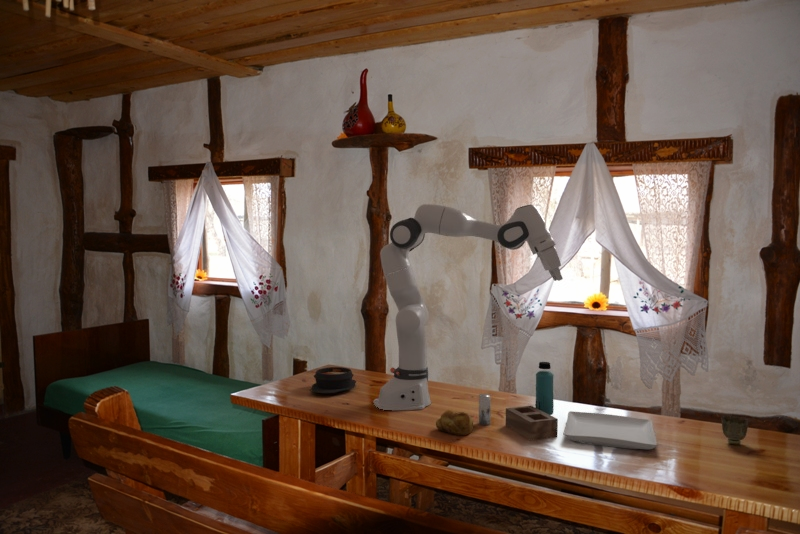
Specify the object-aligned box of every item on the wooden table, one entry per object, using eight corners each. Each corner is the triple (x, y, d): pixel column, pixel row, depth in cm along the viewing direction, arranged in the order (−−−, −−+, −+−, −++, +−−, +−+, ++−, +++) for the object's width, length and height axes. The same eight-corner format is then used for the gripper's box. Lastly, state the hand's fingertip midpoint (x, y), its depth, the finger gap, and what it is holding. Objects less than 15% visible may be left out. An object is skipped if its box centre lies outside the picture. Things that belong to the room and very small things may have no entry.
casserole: (329, 381, 260) (329, 363, 260) (366, 385, 253) (366, 366, 253) (299, 395, 237) (299, 374, 237) (339, 399, 230) (339, 379, 230)
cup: (747, 449, 174) (748, 423, 174) (720, 445, 178) (720, 419, 178) (748, 442, 181) (748, 417, 180) (721, 438, 185) (721, 413, 184)
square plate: (658, 456, 170) (658, 443, 170) (562, 445, 179) (562, 433, 179) (651, 428, 195) (652, 417, 195) (568, 420, 205) (568, 409, 204)
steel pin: (482, 426, 197) (482, 397, 196) (476, 422, 201) (477, 394, 200) (492, 424, 198) (492, 396, 198) (487, 421, 202) (487, 393, 201)
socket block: (530, 440, 182) (530, 422, 182) (505, 425, 197) (505, 408, 197) (557, 437, 186) (557, 418, 185) (530, 422, 201) (531, 405, 200)
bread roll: (430, 432, 191) (430, 408, 190) (444, 424, 199) (445, 401, 199) (465, 439, 184) (465, 414, 183) (478, 431, 192) (478, 407, 192)
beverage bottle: (556, 416, 207) (557, 362, 206) (547, 421, 202) (548, 364, 202) (540, 413, 212) (541, 359, 211) (531, 417, 207) (532, 362, 206)
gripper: (531, 250, 220) (546, 283, 219) (537, 247, 200) (554, 283, 199) (546, 243, 219) (562, 276, 218) (554, 240, 199) (571, 276, 198)
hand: (558, 280), depth 208 cm, fingers open, 8 cm apart
